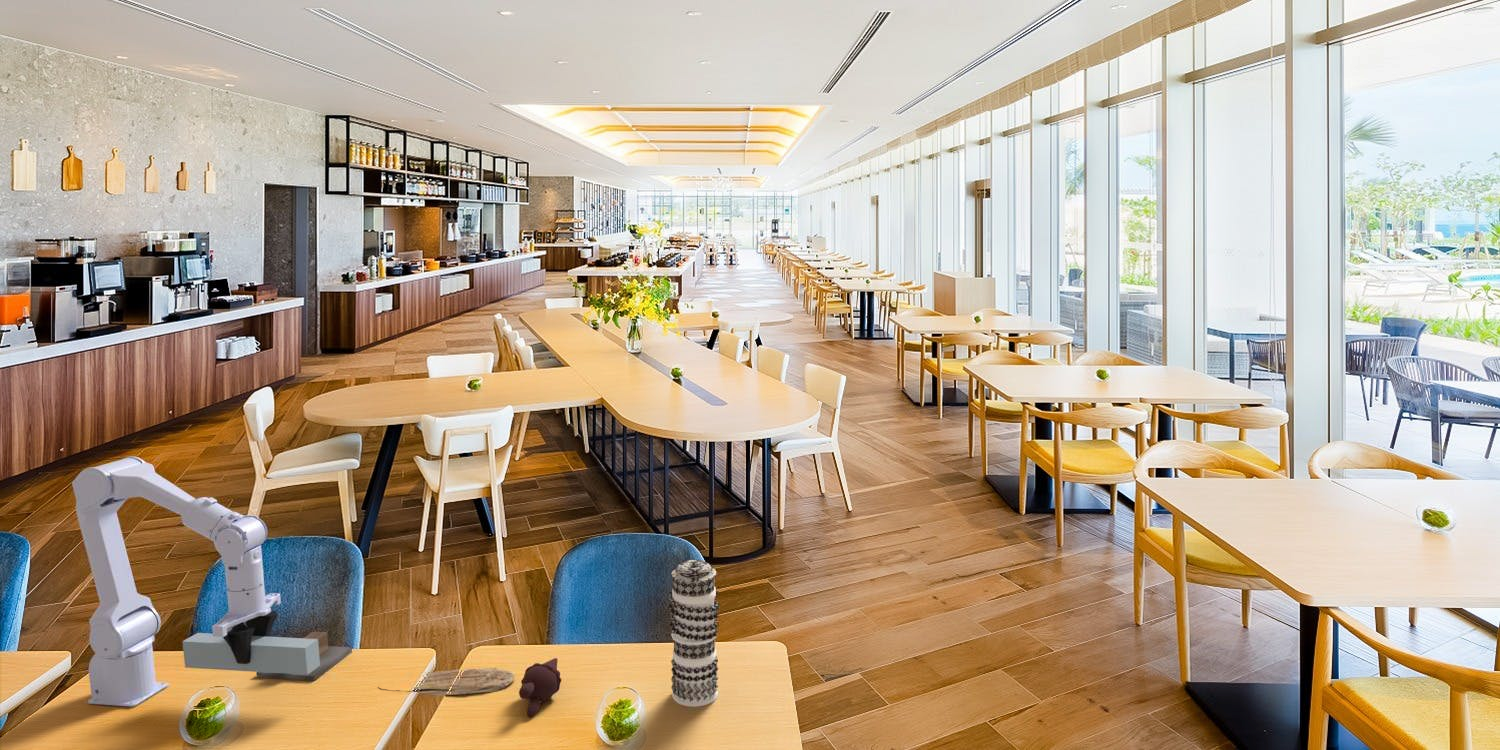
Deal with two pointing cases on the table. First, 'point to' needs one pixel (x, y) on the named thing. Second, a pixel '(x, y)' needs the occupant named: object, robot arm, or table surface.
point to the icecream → (539, 684)
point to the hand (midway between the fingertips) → (251, 657)
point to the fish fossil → (465, 681)
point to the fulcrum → (326, 654)
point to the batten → (253, 654)
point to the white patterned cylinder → (694, 634)
